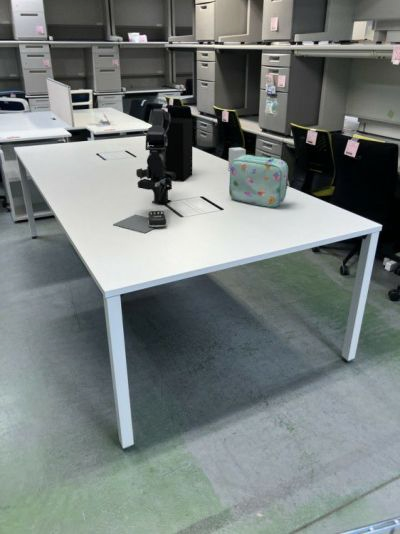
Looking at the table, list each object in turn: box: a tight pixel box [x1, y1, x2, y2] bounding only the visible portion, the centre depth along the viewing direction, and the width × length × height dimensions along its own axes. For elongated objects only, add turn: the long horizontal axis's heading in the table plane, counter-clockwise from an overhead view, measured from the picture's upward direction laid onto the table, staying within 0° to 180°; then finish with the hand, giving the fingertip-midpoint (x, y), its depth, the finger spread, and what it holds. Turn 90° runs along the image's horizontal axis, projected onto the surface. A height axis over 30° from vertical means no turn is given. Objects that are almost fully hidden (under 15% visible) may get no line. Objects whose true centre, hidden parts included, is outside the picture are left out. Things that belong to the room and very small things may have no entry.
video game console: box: [165, 117, 194, 182], centre depth 231 cm, size 15×15×30 cm
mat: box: [112, 213, 168, 234], centre depth 174 cm, size 14×16×1 cm
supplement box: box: [227, 146, 247, 170], centre depth 250 cm, size 7×7×13 cm
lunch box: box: [228, 154, 290, 208], centre depth 196 cm, size 27×10×21 cm, turn 59°
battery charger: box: [147, 210, 167, 229], centre depth 173 cm, size 7×4×11 cm
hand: (158, 200), depth 181 cm, fingers closed
